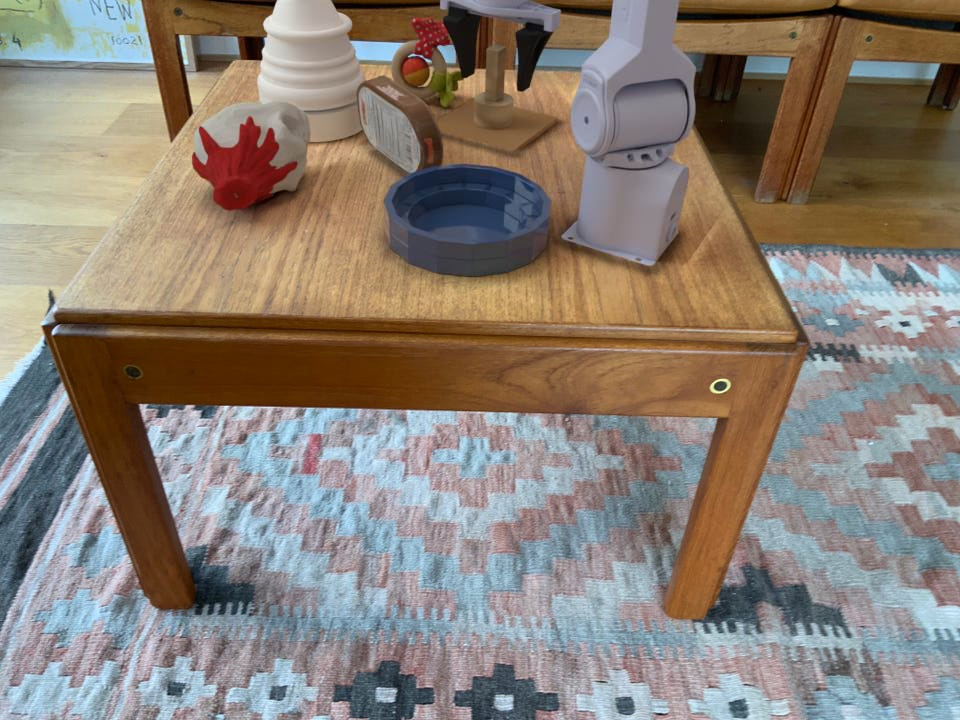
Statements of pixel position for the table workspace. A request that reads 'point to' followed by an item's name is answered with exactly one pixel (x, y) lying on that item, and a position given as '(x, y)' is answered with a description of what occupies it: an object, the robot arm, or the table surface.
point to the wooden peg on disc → (494, 94)
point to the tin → (399, 124)
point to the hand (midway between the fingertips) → (495, 82)
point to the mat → (510, 138)
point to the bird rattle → (425, 63)
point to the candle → (251, 151)
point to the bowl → (467, 219)
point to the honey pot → (312, 66)
